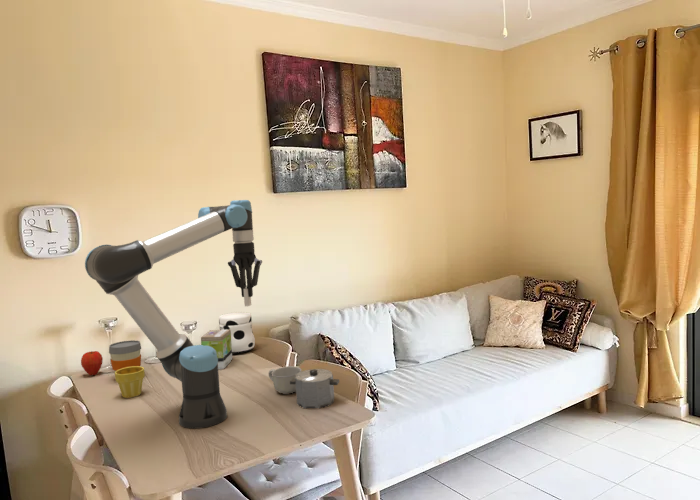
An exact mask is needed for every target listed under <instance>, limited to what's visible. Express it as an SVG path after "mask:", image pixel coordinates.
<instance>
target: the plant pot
mask: <svg viewBox="0 0 700 500" xmlns="http://www.w3.org/2000/svg"><path fill="white" fill-rule="evenodd" d="M114 377H115V379H114V380H115V382H116V383H117V385H118V388H119V391H120V394H121V396H122V397H123V398H124V399H130V398H136V397H139V396H140V395H141V394H142V388H143V382H144V378H145V377H146V374H145V367H143V366H132V367H126V368H122V369H119V370H117V371H116V372H115V373H114Z"/></svg>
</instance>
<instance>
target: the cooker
mask: <svg viewBox="0 0 700 500" xmlns="http://www.w3.org/2000/svg"><path fill="white" fill-rule="evenodd" d="M339 383H340V379H338V378H337V379H336V378H334V374H332V377H331V378H330V379H328V380H325V381H322V382H316V383H304V382H299V381H297V380H296V379H292V380H291V381H290V384H296V392H295V394H296V395H295V396H296V405H297V404H298V405H297V406H298V407H300V406H301V407H300V408H302V407H303V408H302V409H307V408H319V409H321V408H320V407H323V408H326V407H325V406H327V407H329V406H328V405H330V406H331V405H332V404H334V402H335V389H334V386H338V385H339Z"/></svg>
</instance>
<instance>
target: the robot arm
mask: <svg viewBox="0 0 700 500" xmlns="http://www.w3.org/2000/svg"><path fill="white" fill-rule="evenodd" d="M229 202H230V203H229V205H217V206H205V207H201V208H200V209H198V213H197V218H194V219H192V220H190V221H188V222H185V223H183V224H180V225H178V226H176V227H174V228H171V229H169V230H167V231H164V232H162V233H159V234H158V235H155V236H153V237H150V238H148V239H145V240H143V241H142V240H139V239H136V240H134V241H132V242H129V243H126V244H119V245H112V244H101V245H99V246H96V247H94V248H92V249H91V250H90V251H89V252H88V253H87V255H86V257H85V260H84V268H85V271H86V273H87V275H88V276H89V277H90V278H91V279H92V280H95V281H96V283H97V284H98V285H99V286H100V288H101V289H102V290H103V291H104V293H106V295H109V296H110V295H113V296H114V297H115V298H116V300H118V302H119V303H120V304H121V306H122V307H123V308H124V309H125V311H126V312H127V313H128V314H129V316H130V317H131V319H132V320H133V321H134V322H135V323H136V325H137V326H138V327H139V329H140V330H141V331H142V332H143V334H144V335H145V336H146V337H147V339H148V340H149V341H150V343H151V344H152V345H153V346H154V348H155V349H156V358H157V359H158V360H159V362H160V363H161V365H162V366H161V367H163V370H164V371H165V372H166V374H167V375H169V376H170V377H172V378H174V379H177V380H178V381H180V382H181V388H182V389H181V390H182V402H181V407H180V410H179V414H178V424H179V425H180V426H181V427H183V428H185V429H202V428H203V429H204V428H208V427H211V426H212V427H213V426H215V425H218V424H220V423H222V422H224V421H225V420H226V419H227V417H228V409H227V407H226V404H225V402H224V400H223V398H222V395H221V392H220V391H221V390H220V376H219V369H218V358H217V353H216V350H215V349H214V348H212V347H210V346H203V345H201V344H197V345H194V343H192V341H191V340H190V339H189V338H188V336H187V335H186V333H185V334H183V333H179V332H178V330H177V329H176V328H175V326H174V325H173V324H172V322H171V321H170V320H169V319H168V317H167V316H166V315H165V313H164V312H163V311H162V309H161V308H160V307H159V306H158V304H157V303H156V302H155V300H154V299H153V298H152V296H151V295H150V293H148V292H147V289H146V288H145V287H144V285H142V283H141V282H140V280H139V275H140V274H143V273H145V272H147V271H149V270H151V269H153V265H154V264H156V263H158V262H160V261H161V262H162V261H163V260H165V259H168V258H170V257H172V256H174V255H176V254H178V253H180V252H183V251H185V250H187V249H189V248H191V247H194V246H195V245H198V244H200V243H203V242H204V241H207V240H209V239H211V238H213V237H216V236H217V235H220V234H222V233H224V232H227V231H229V230H231V232H232V242H233V244H232V247H233V258H232V259H231V261H228V262H227V266H229V268H230V270H231V275H232V276H233V277H232V278H233V280H234V283H235V287H236V288H240V289H241V290H240V292H241V293H240V294H241V297H242V298H243V300H244V301H243V302H244V307H250V306H252V297H253V295H254V292H253V291H254V290H253V288H254V287H256V286H257V285H258V281H259V275H260V268H261V265H262V263H263V260H261V259H258V258H257V256H256V253H255V243H254V239H255V238H254V237H255V236H254V227H253V209H252V203H251V201H250V200H249V199H235V200H234V199H233V200H231V201H229ZM253 264H254V266H253ZM237 266H238V268H237ZM238 270H239V271H238ZM252 270H253V272H252Z"/></svg>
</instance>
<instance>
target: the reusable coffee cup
mask: <svg viewBox="0 0 700 500" xmlns="http://www.w3.org/2000/svg"><path fill="white" fill-rule="evenodd" d="M141 350H142V345H141V341H140V340H135V339H134V340H133V339H131V340H123V341H119V342H114V343H111V344H109V346H108V353H109V355H110V364H111V369H112V371H113V372H114V374H115V372H116V371H117V370H119V369H122V368H126V367H132V366H141V365H142V354H141ZM141 367H142V366H141Z"/></svg>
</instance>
